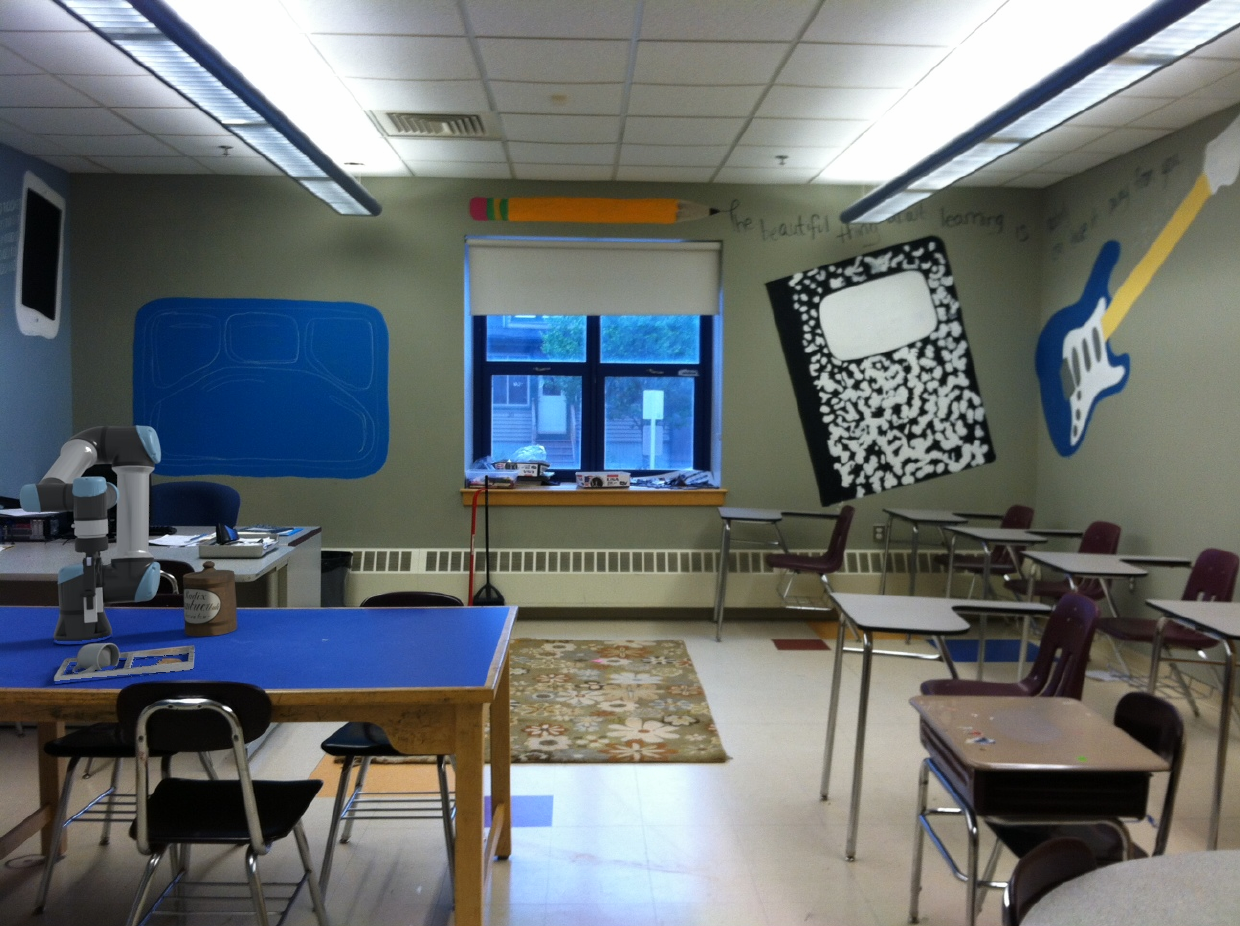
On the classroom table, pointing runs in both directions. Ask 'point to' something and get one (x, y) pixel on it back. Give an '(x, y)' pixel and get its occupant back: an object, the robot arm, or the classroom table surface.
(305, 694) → the classroom table surface
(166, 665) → the slot rack
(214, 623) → the wooden container
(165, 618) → the classroom table surface
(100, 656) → the ceramic mug
